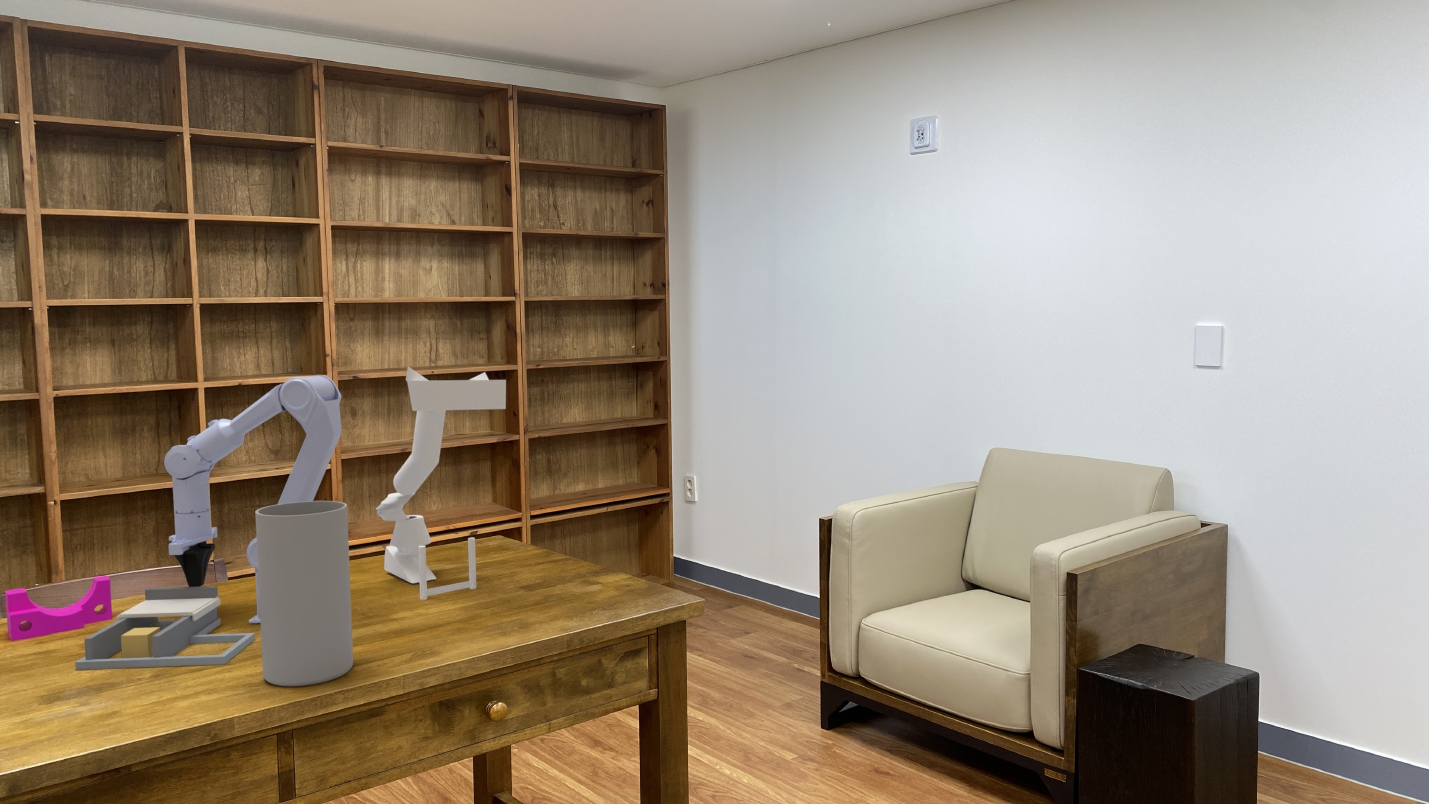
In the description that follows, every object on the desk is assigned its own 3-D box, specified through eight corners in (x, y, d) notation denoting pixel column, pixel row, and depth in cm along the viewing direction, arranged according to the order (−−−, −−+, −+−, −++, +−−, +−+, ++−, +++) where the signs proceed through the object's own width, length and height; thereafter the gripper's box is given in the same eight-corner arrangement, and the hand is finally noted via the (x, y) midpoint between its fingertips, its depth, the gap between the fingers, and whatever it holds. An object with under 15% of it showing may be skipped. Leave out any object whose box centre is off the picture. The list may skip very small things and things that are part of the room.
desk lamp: (338, 584, 198) (329, 363, 194) (423, 569, 210) (415, 360, 207) (419, 624, 170) (411, 366, 167) (512, 603, 182) (505, 363, 179)
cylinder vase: (367, 672, 146) (361, 507, 144) (282, 695, 137) (274, 519, 135) (332, 653, 155) (326, 498, 153) (250, 673, 146) (242, 508, 144)
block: (161, 651, 157) (160, 627, 157) (148, 659, 153) (147, 634, 153) (135, 652, 157) (134, 628, 157) (122, 660, 153) (120, 635, 153)
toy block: (11, 641, 164) (8, 597, 163) (7, 633, 168) (5, 590, 168) (115, 623, 173) (112, 582, 173) (108, 616, 178) (106, 575, 178)
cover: (220, 604, 171) (219, 585, 170) (195, 620, 161) (194, 601, 161) (147, 606, 170) (146, 588, 169) (116, 623, 160) (115, 603, 160)
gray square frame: (276, 623, 172) (275, 598, 171) (224, 664, 150) (223, 635, 150) (146, 627, 170) (145, 602, 170) (75, 669, 149) (73, 640, 148)
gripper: (188, 504, 181) (191, 576, 182) (148, 519, 166) (152, 597, 167) (227, 503, 181) (230, 575, 182) (191, 518, 167) (195, 596, 168)
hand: (196, 585), depth 175 cm, fingers closed
